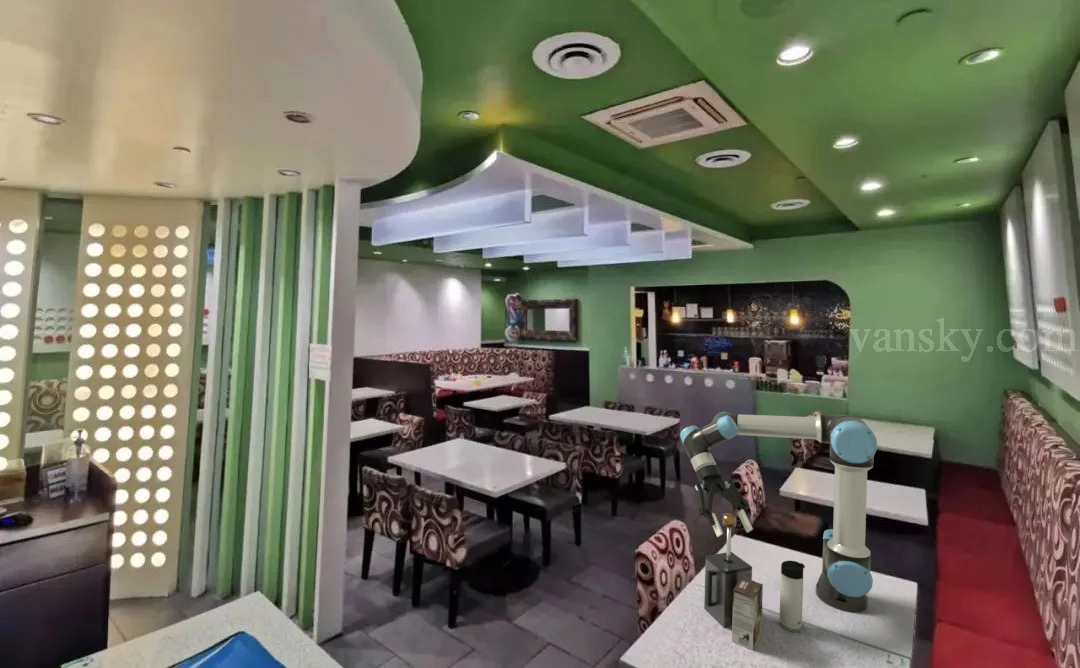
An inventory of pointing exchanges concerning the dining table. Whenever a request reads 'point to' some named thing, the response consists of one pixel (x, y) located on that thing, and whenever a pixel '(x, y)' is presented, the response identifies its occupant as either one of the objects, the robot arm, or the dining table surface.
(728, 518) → the plunger
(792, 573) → the travel mug
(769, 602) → the dining table surface
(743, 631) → the coffee box
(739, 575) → the press pot
